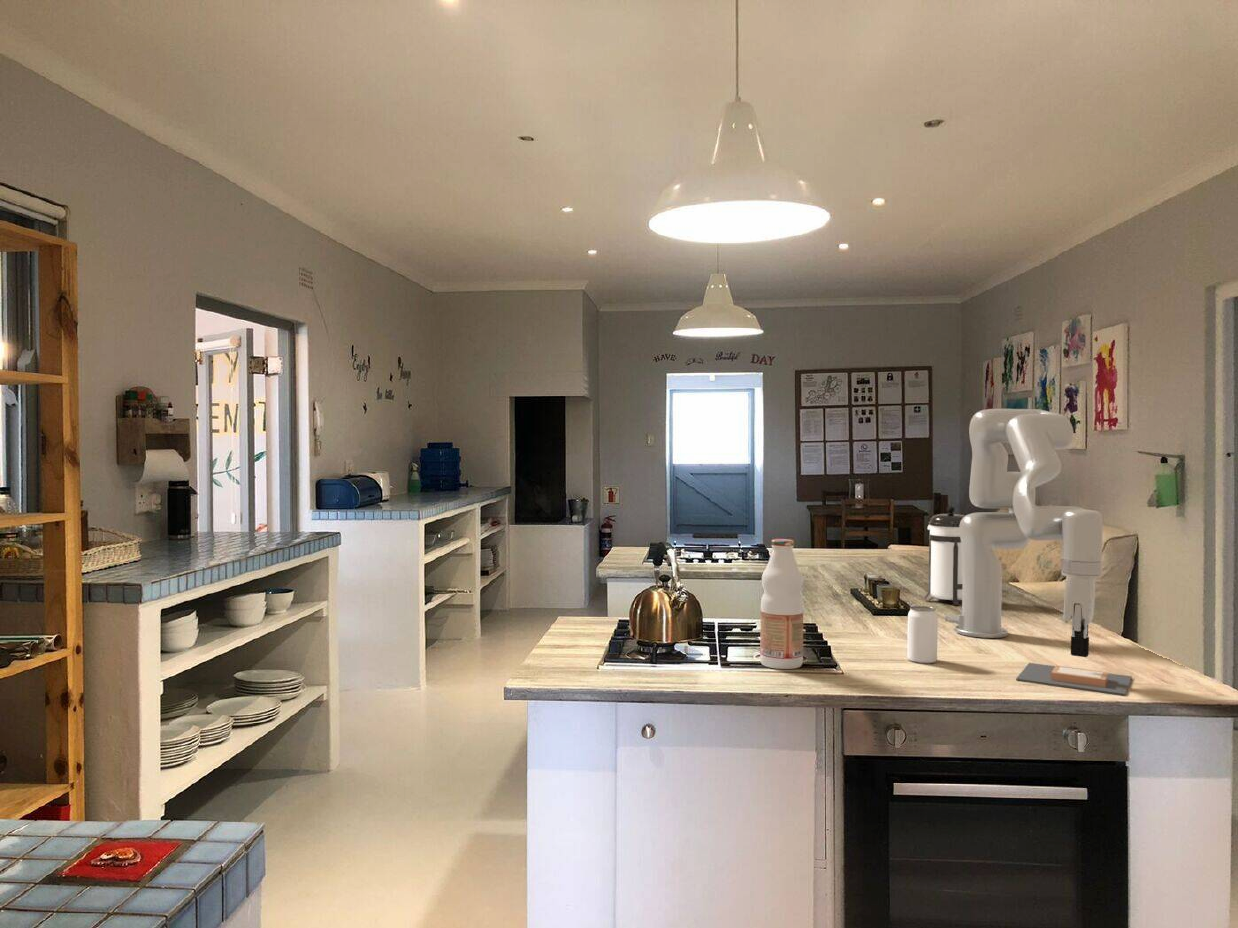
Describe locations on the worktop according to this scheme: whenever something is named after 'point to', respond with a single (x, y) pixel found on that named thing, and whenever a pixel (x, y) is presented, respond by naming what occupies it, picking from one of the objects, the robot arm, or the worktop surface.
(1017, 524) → the robot arm
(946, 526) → the coffee press
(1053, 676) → the block
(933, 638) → the can
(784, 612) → the fruit juice
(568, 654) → the worktop surface
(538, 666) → the worktop surface
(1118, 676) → the mat
